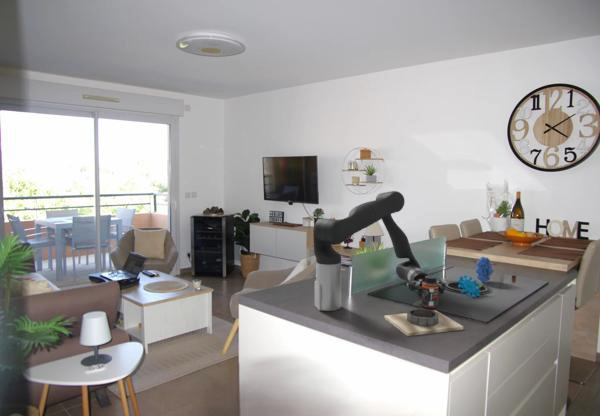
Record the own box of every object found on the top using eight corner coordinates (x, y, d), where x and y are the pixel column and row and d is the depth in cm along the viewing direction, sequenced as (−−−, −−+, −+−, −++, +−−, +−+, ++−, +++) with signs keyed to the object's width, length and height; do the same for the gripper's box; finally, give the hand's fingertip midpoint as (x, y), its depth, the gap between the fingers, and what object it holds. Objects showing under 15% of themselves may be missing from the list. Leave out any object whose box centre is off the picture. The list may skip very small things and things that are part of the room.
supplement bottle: (435, 309, 156) (436, 279, 155) (419, 307, 159) (420, 277, 158) (439, 305, 161) (440, 276, 160) (423, 302, 164) (424, 273, 163)
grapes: (486, 287, 185) (487, 259, 184) (471, 283, 190) (472, 257, 189) (499, 282, 192) (500, 256, 191) (484, 279, 197) (485, 253, 196)
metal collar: (416, 327, 137) (417, 320, 136) (401, 317, 146) (401, 310, 146) (444, 324, 139) (444, 317, 139) (427, 314, 149) (427, 307, 149)
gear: (464, 295, 168) (455, 273, 174) (456, 302, 172) (448, 281, 178) (487, 296, 171) (478, 275, 177) (479, 303, 175) (470, 282, 181)
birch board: (407, 336, 133) (407, 333, 133) (384, 318, 148) (384, 315, 148) (463, 329, 138) (463, 326, 138) (435, 312, 153) (435, 310, 153)
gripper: (401, 270, 173) (412, 281, 157) (436, 269, 174) (451, 280, 157) (401, 288, 174) (412, 301, 158) (436, 287, 174) (451, 300, 158)
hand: (432, 291), depth 158 cm, fingers open, 7 cm apart
